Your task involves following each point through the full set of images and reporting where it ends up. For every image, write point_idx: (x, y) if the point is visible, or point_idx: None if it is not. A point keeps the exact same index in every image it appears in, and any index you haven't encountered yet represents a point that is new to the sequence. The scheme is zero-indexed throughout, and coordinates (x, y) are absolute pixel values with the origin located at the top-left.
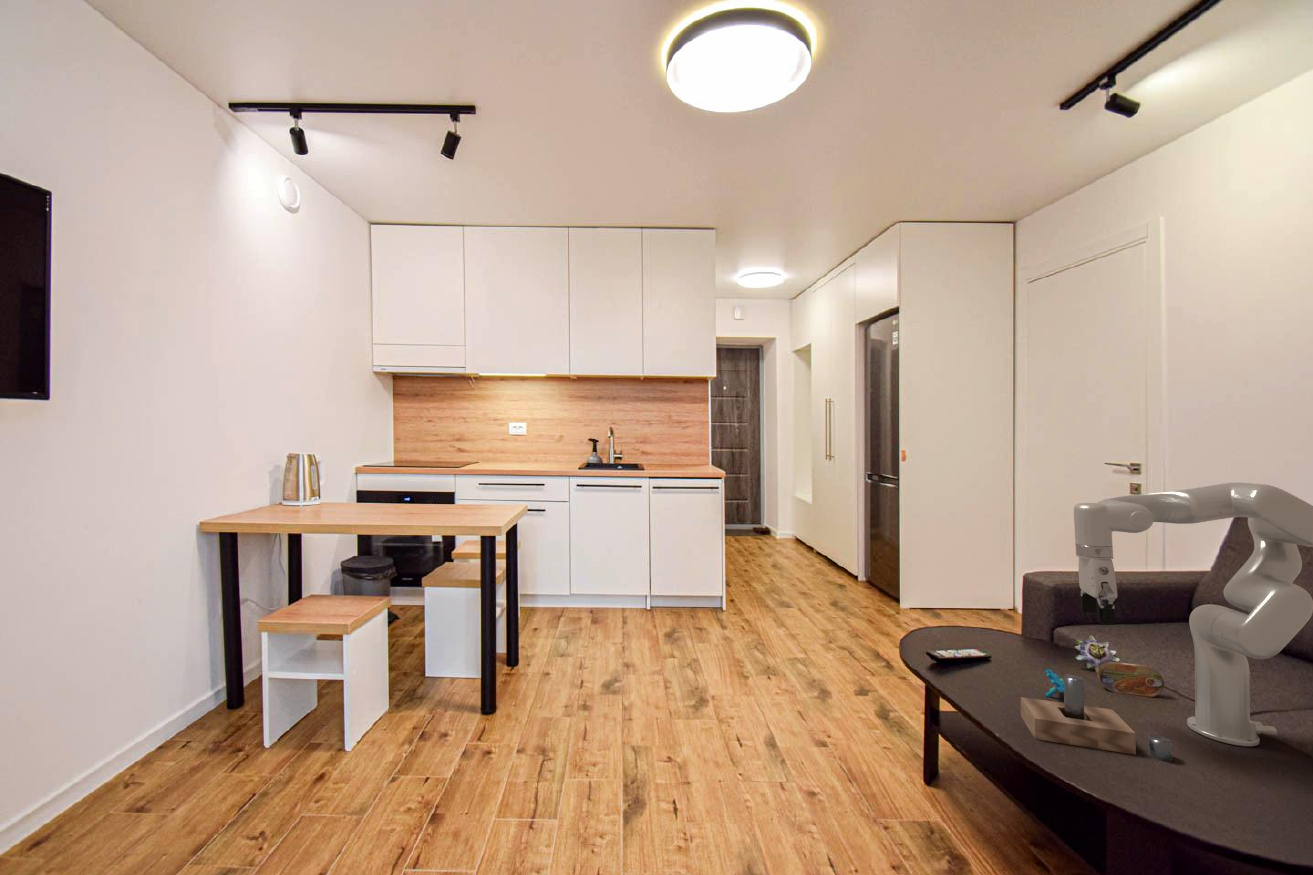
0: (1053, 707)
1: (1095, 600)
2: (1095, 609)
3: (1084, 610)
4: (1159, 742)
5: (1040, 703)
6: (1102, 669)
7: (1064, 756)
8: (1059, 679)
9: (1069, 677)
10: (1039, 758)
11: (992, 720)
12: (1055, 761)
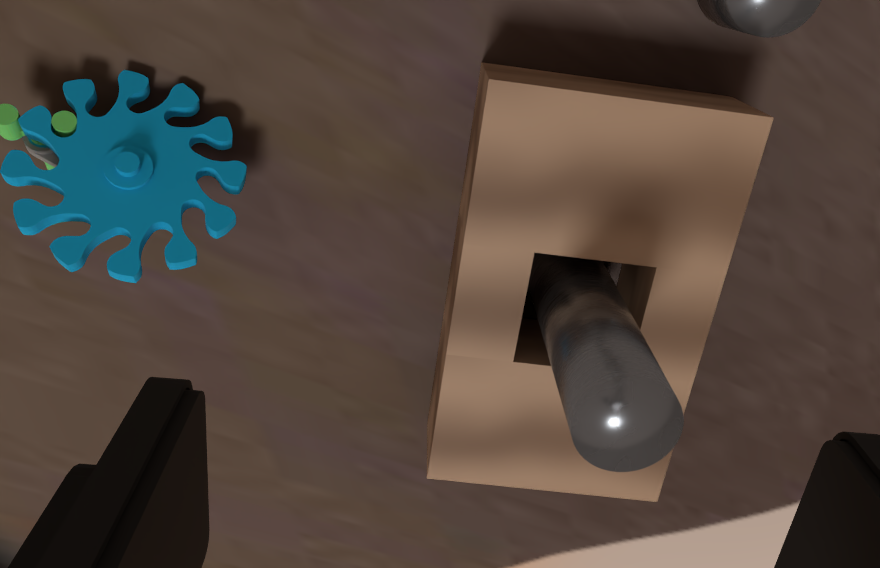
0: (522, 380)
1: (126, 563)
2: (190, 429)
3: (200, 546)
4: (807, 12)
5: (484, 419)
6: None
7: (763, 396)
8: (58, 164)
9: (626, 449)
10: (782, 484)
11: (496, 537)
12: (800, 442)
